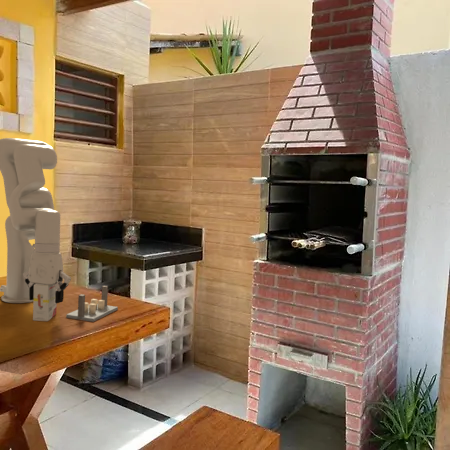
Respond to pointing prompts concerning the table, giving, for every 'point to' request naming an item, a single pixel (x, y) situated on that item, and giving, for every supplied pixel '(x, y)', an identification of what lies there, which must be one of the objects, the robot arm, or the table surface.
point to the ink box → (44, 302)
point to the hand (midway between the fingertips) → (46, 300)
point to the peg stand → (92, 308)
